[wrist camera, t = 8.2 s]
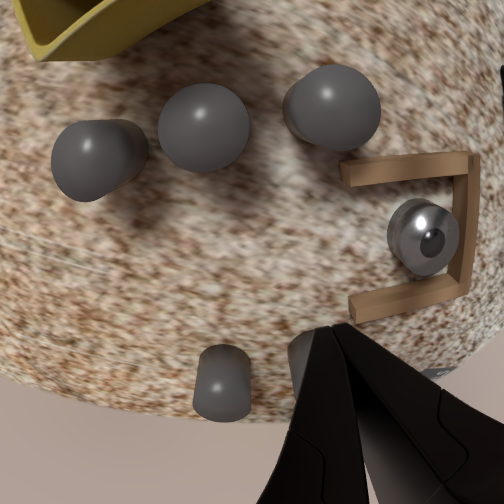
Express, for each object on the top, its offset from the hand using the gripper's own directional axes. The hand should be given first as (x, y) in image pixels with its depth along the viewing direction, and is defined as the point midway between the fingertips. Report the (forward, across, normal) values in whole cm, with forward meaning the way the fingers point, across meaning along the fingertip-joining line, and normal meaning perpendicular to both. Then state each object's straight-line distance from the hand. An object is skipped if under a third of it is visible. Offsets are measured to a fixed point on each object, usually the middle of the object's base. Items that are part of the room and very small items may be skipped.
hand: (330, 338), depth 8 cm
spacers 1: (+12, +3, -6) cm, 14 cm away
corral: (+12, -8, +3) cm, 15 cm away
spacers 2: (+12, +2, +12) cm, 17 cm away
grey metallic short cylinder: (+12, -9, +3) cm, 16 cm away
